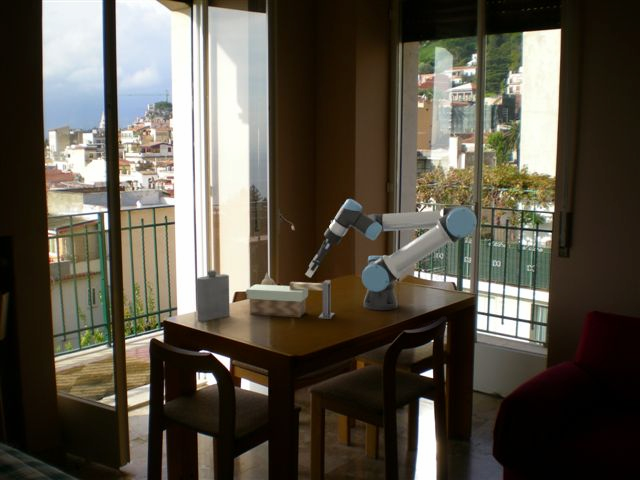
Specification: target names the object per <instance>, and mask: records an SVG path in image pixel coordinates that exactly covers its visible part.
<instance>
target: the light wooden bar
mask: <svg viewBox="0 0 640 480" xmlns="http://www.w3.org/2000/svg"><path fill="white" fill-rule="evenodd" d="M289 286H290V289H301V290H308V291H322V292H323V282H321V283H319V282H317V283H316V282H302V281H301V282H300V281H298V282H297V281H290V282H289Z"/></svg>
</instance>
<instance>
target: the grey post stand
mask: <svg viewBox="0 0 640 480" xmlns="http://www.w3.org/2000/svg"><path fill="white" fill-rule="evenodd" d="M322 284H323V291H322V312H321V314H320V315H319V316H318V319H329V320H331V319H332V318H333V316H335V312H331V280H330V279H326V280H324V281H323V282H322Z"/></svg>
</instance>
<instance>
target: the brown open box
mask: <svg viewBox="0 0 640 480" xmlns="http://www.w3.org/2000/svg"><path fill="white" fill-rule="evenodd" d="M305 313H306V298H305V299H304V300H303V301H302V302H298V301H280V300H263V299H249V315H257V316H271V317H272V316H274V317H288V318H289V317H290V318H301V317H302V316H303V315H304V314H305Z"/></svg>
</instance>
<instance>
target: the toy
mask: <svg viewBox="0 0 640 480" xmlns="http://www.w3.org/2000/svg"><path fill="white" fill-rule="evenodd" d="M260 285H278V284H277V283H276V281H274V279H273V278H271V277H270V276H269V274H268V272H266V273H265V276H264V279H263V280H262V281H261V284H260ZM245 294H246V295H247V289H246V290H245Z"/></svg>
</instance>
